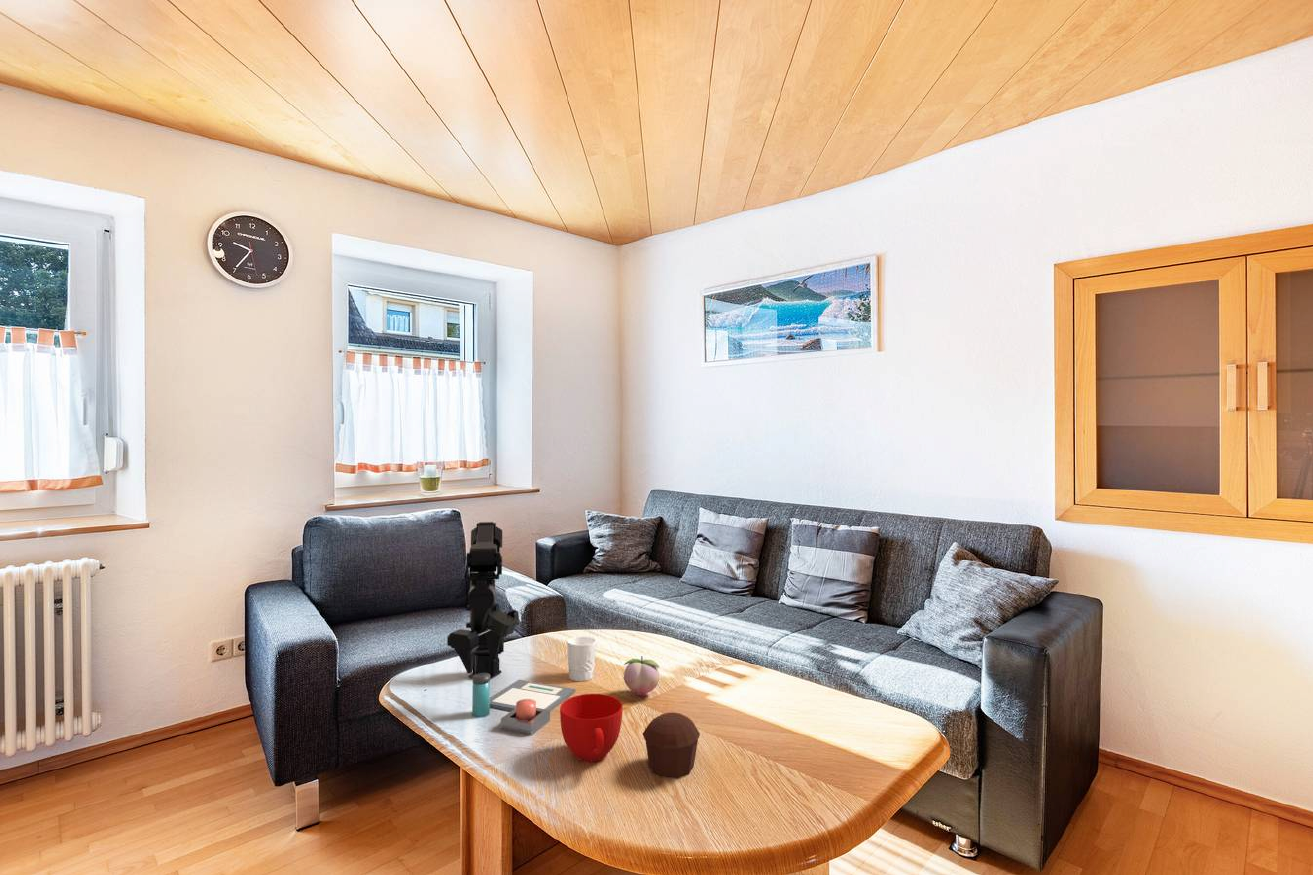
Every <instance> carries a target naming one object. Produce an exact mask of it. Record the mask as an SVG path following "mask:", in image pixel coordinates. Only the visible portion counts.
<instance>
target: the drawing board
mask: <svg viewBox="0 0 1313 875" xmlns="http://www.w3.org/2000/svg"><path fill="white" fill-rule="evenodd" d="M573 694H576V688H573V687H572V688H571V687H567V686H566V687H564V686H559V685H553V684H547V683H541V682H536V681H531V680H530V681H529V680H523V679H517V680H515V681H514V682H513V683H511V684H510V685H508V686H506V687H504V688H503V689H502V690H500V691H499V692H496V693H495V694H494V695H492V696H490V708H493V709H498V710H503V711H508V712H511V711H512V710H514V709H515V708H516V703H517V702H518V701H520V700H523V699H532V700H535V701H536V708H541V709H546V710H550V712H551V711H553V710H554V709H555V708H556V707H558V706H559V705H561V704H562V703H563V702H564V701H566V700H567V699H569V698H571V696H572V695H573Z"/></svg>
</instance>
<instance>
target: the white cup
mask: <svg viewBox="0 0 1313 875" xmlns="http://www.w3.org/2000/svg"><path fill="white" fill-rule="evenodd" d="M566 644H567V645H566V646H567V648H566V649H567V666H568V678H569V679H570V680H572V681H575V682H586V681H589V680H592V679H594V673H595V665H596V664H595V663H596V650H597V648H596V647H597V639H596V638H594V637H591V636H584V635H582V636H574V637H570V638H569V639H567V641H566Z"/></svg>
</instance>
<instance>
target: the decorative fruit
mask: <svg viewBox="0 0 1313 875" xmlns="http://www.w3.org/2000/svg"><path fill="white" fill-rule="evenodd" d="M623 665H624V666H625V669H624V673H623V681H624V684H625V685H626V687H628V688H629V689H630V690H631V691H632V692H633V693H635V694H637V695H639V696H645V695H646V694H648V693H650V692H652V691H653V690H654V689H655V688H657V686H658V684H659V682H660V672H659V669H658V668H660V666H659V664H658V663H657V662H656V661H654V660H652V659H646V658H645V659H644V658H643V656H642V655H641V656H640V658H639V659H638V658H631V659H629V660H627V661H626V662H625V663H624V664H623Z"/></svg>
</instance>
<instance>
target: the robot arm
mask: <svg viewBox="0 0 1313 875" xmlns="http://www.w3.org/2000/svg"><path fill="white" fill-rule="evenodd" d="M502 548H503V529H501V528H500V527H498V526H497V523H496V522H493V521H484V522H483V521H482V522H477V523H476V527H475V528H473V529H472V530H471V531H470V548H469V552H466V557H465V558H466V559H465V572H464V573H465V574H464V575H465V577H464V581H470V582H469V583H470V586H469V587H470V589H469V591H468V594H467V595H468V596H467V604H468V605H466V608H465V609H466V610H465V611H469V621H468V622H466V623H465V628H466V629H463V628H459V629H457V630H455V631H452V632H450V633H449V634H448V635H447V638H446V640H447V641H446V642H447V643H446V645H447V647H450V648H452V649H454V650H455V652H456V654H457V656H458V657H459V659H460V661H461V663H462V665H463V667H464V668H465V671H466V673H467V674H468V677H469V678H472V677H473V675H475V674H478V673H489V674H490V680H491V679H493V678H495V677H496V676H498V675H500V674H501V673H502V670H500V657H499V655H501V654H502V653H504V650H505V648H504V646H505V645H504V644H505V642H504V641H505V640H504V639H505V638H506V637H507V636H509V635H512V634H513V633H514V631H515V629H516V627H517V626H518V625H520V621H519V620H520V616H519V611H518V610H516V609H512V610H510V611H505V612H503V611H501V608H500V604H499V603H497V602H496V580H499V579H500V575H502V574H503V556H502V555H501V549H502ZM469 629H470V630H469Z"/></svg>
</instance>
